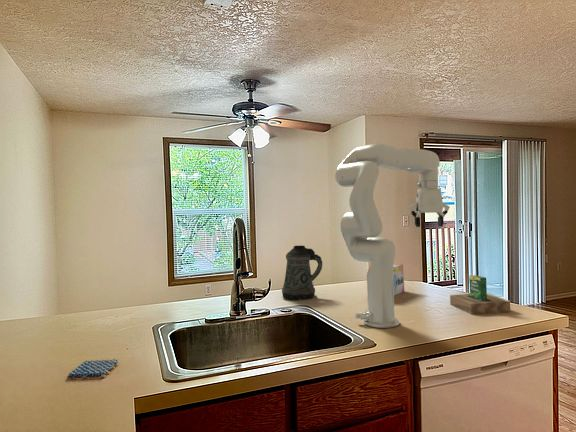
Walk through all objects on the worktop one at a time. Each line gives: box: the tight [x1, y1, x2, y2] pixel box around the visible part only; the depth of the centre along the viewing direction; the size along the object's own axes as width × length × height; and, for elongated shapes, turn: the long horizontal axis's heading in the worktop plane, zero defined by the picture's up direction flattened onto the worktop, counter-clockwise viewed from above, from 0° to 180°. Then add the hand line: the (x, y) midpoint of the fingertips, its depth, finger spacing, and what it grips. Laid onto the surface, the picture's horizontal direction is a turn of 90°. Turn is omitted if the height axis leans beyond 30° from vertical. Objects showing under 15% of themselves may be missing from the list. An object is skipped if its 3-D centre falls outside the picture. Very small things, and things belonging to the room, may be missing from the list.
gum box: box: [393, 263, 405, 296], centre depth 191 cm, size 24×8×14 cm, turn 139°
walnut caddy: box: [449, 292, 511, 315], centre depth 160 cm, size 16×16×4 cm
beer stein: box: [281, 245, 323, 301], centre depth 193 cm, size 16×19×25 cm
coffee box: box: [468, 274, 488, 302], centre depth 160 cm, size 8×3×13 cm, turn 6°
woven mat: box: [66, 358, 119, 381], centre depth 109 cm, size 10×11×2 cm
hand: (429, 226), depth 164 cm, fingers open, 9 cm apart
